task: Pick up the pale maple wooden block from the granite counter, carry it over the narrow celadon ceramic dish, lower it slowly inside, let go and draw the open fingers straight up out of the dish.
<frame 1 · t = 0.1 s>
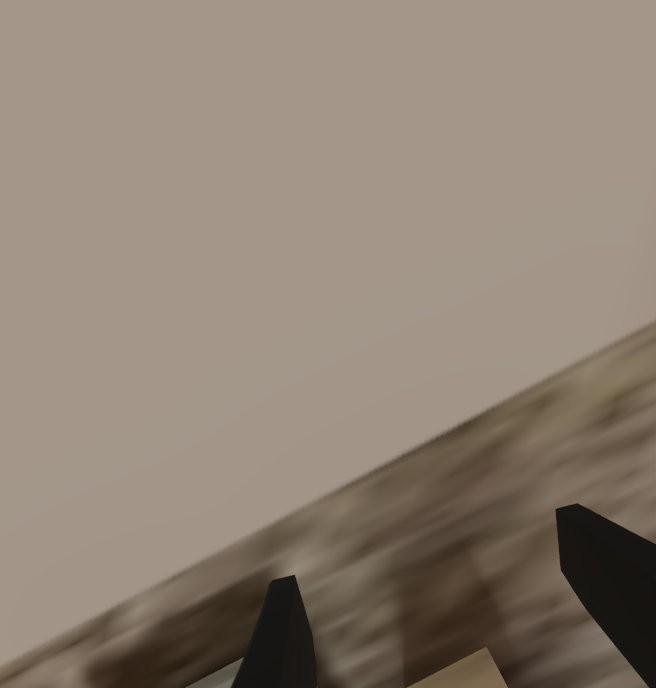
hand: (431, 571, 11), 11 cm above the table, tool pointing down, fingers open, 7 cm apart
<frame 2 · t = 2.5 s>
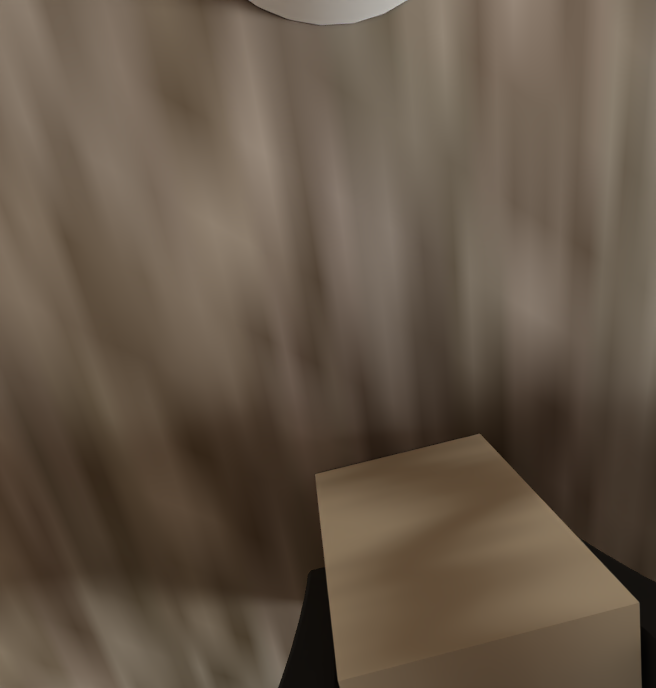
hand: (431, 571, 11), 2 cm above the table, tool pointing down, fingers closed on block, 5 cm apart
block: (411, 524, 13), on the table, touching gripper
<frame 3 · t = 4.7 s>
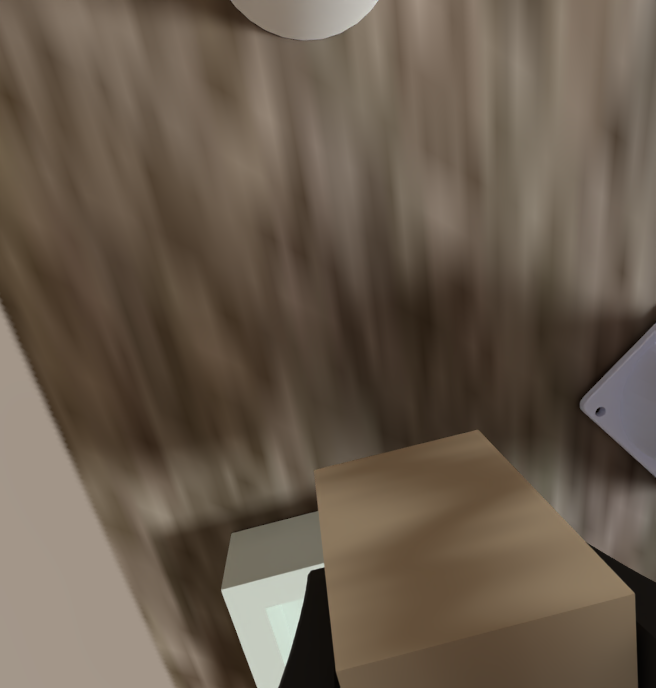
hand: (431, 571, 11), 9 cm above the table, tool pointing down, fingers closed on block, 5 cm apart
block: (410, 520, 13), point 7 cm above the table, touching gripper
dish: (361, 591, 23), on the table
when the fingers open (4 cm above the table, at t = 7.1 s): block drops 1 cm, resting on dish.
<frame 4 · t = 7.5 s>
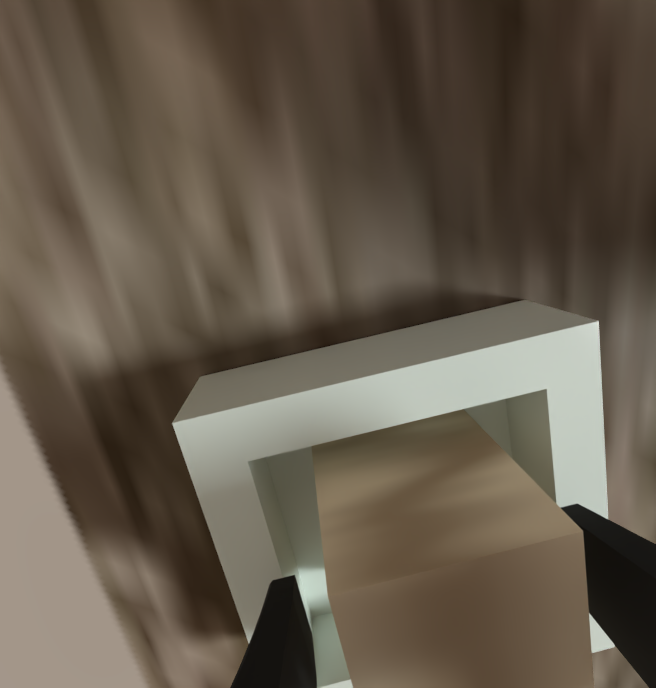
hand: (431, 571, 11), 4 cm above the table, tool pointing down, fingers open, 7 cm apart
block: (399, 490, 15), point 1 cm above the table, touching dish
dish: (393, 481, 16), on the table
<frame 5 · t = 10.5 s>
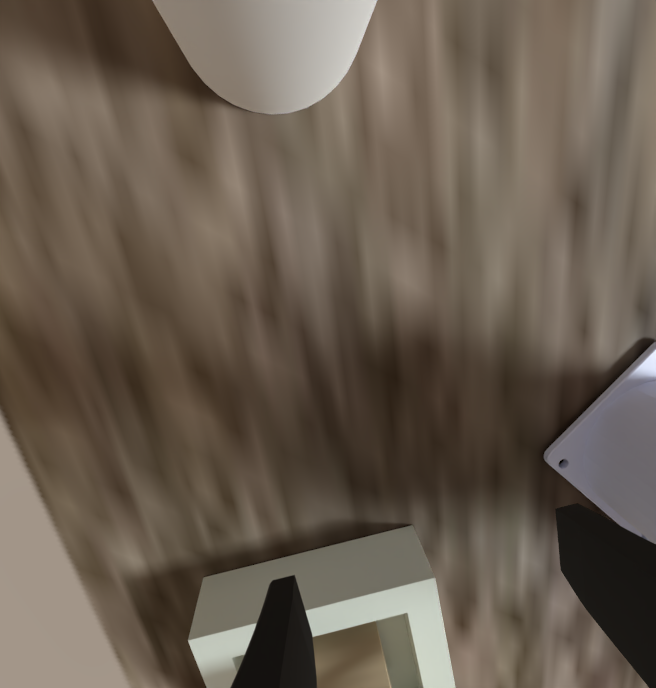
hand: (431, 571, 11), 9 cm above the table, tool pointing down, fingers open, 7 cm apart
cylindrical container: (268, 10, 16), on the table
block: (332, 646, 23), point 1 cm above the table, touching dish
dish: (331, 632, 24), on the table
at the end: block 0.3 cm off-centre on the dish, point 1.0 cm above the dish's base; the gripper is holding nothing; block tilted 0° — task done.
